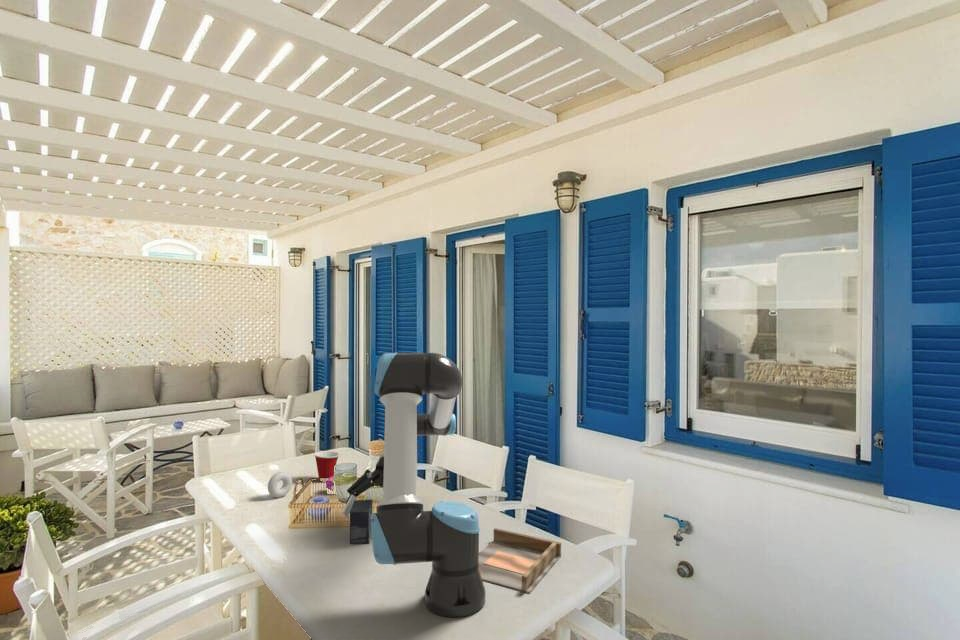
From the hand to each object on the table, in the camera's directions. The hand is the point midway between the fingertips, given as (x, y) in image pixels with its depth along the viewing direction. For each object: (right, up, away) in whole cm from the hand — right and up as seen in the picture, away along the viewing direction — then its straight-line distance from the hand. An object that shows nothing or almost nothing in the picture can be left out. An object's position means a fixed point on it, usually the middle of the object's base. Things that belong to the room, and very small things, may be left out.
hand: (360, 519), depth 162 cm
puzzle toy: (-20, -7, +43) cm, 48 cm away
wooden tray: (+48, -6, -18) cm, 51 cm away
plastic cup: (-29, -7, +59) cm, 66 cm away
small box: (0, -6, 0) cm, 6 cm away
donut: (-41, -6, +37) cm, 56 cm away
